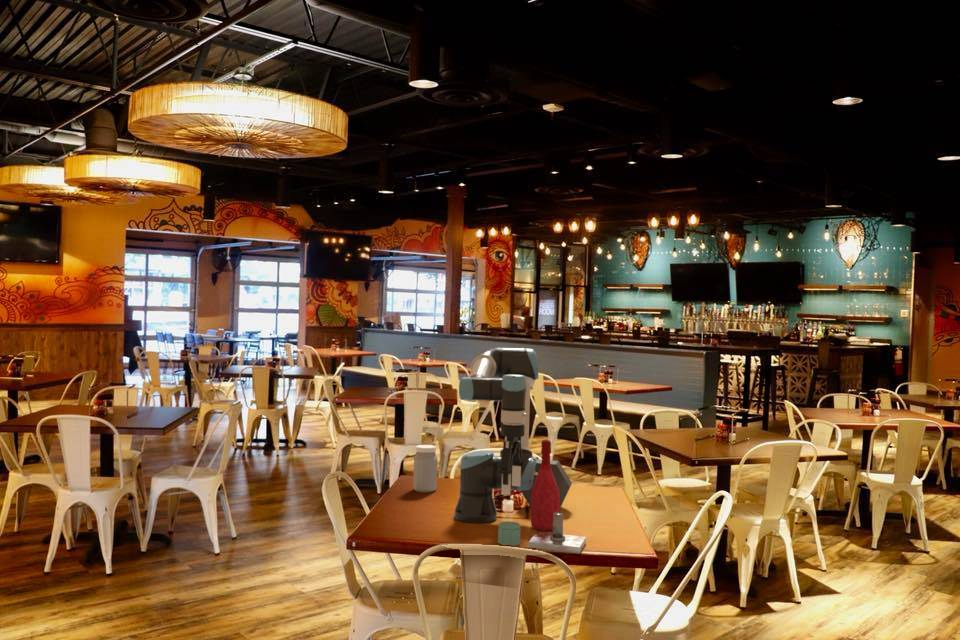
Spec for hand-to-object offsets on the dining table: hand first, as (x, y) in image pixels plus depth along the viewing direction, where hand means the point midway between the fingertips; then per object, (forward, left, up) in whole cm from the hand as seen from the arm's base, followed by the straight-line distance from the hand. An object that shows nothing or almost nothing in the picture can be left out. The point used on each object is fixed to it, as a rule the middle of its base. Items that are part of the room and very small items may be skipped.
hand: (511, 490), depth 250 cm
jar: (-51, +60, -17) cm, 81 cm away
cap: (0, 0, -17) cm, 17 cm away
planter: (+1, +50, -17) cm, 53 cm away
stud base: (+15, +3, -17) cm, 22 cm away
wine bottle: (+7, +22, -17) cm, 29 cm away
